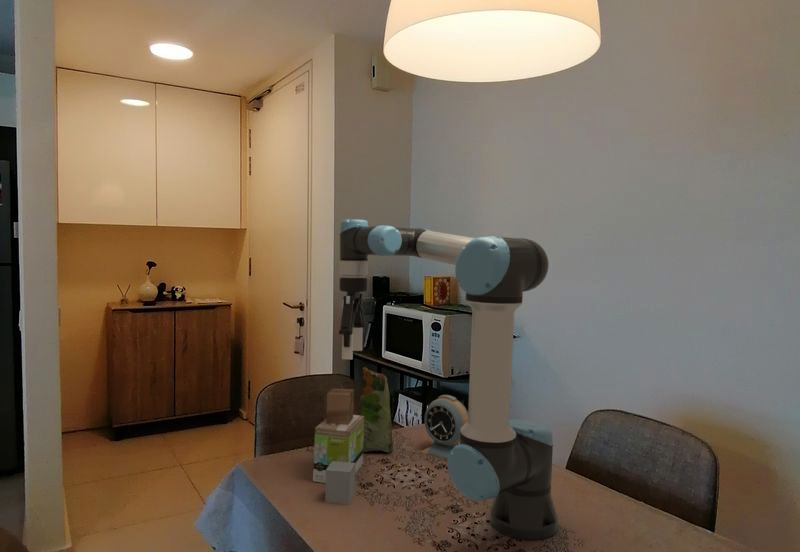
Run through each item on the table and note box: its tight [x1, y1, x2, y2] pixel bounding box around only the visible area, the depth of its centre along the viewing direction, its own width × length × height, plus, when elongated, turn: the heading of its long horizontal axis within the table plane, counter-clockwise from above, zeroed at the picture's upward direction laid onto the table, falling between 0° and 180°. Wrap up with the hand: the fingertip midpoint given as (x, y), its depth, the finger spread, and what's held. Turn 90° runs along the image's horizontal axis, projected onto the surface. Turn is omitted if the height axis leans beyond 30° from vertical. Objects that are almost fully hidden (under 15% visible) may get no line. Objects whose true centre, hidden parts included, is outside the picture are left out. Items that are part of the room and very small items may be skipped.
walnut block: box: [326, 388, 355, 425], centre depth 154 cm, size 6×6×8 cm
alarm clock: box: [420, 394, 468, 461], centre depth 173 cm, size 14×10×18 cm
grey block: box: [324, 461, 356, 505], centre depth 139 cm, size 6×6×8 cm
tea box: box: [312, 414, 364, 484], centre depth 155 cm, size 15×10×15 cm
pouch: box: [360, 366, 394, 453], centre depth 173 cm, size 11×12×25 cm
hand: (352, 354), depth 154 cm, fingers open, 13 cm apart
